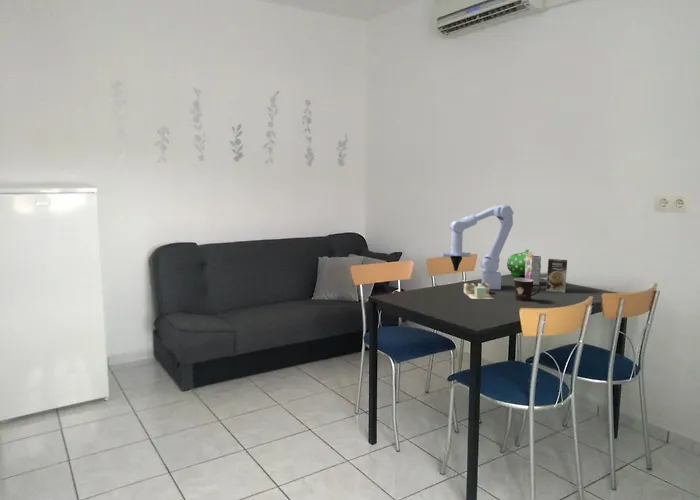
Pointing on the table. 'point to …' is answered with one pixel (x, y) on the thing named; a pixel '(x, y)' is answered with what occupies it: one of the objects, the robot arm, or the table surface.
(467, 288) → the dotted cube
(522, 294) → the coffee mug
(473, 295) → the birch board
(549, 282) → the coffee box
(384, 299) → the table surface
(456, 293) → the table surface
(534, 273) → the candy bar box
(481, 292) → the plain cube
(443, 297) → the table surface
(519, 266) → the piggy bank
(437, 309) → the table surface
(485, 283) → the dotted cube
